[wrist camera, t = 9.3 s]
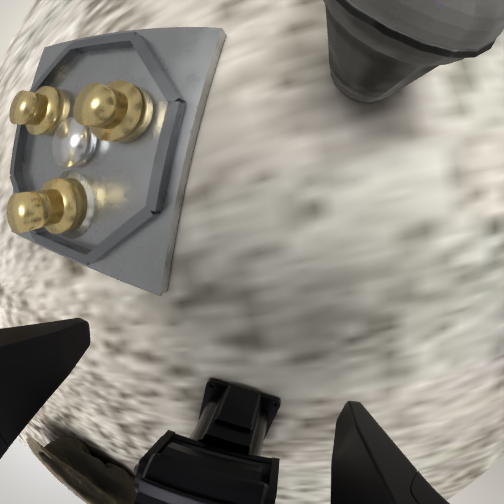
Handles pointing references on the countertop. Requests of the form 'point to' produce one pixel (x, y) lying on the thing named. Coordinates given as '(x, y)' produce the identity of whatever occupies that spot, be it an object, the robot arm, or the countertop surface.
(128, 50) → the tray
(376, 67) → the beverage cup
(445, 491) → the countertop surface
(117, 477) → the stone bowl
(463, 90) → the countertop surface
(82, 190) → the brass cabinet knob
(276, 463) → the robot arm
